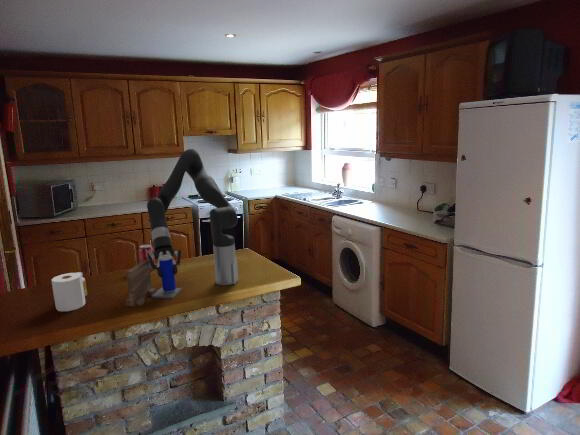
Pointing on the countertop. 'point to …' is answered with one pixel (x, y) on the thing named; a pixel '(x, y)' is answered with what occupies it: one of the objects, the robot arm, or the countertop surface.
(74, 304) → the toilet paper
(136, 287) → the board
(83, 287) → the supplement bottle
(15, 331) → the countertop surface
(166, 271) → the beverage can
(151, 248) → the soda can
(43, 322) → the countertop surface
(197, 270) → the countertop surface
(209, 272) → the countertop surface
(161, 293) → the coaster
